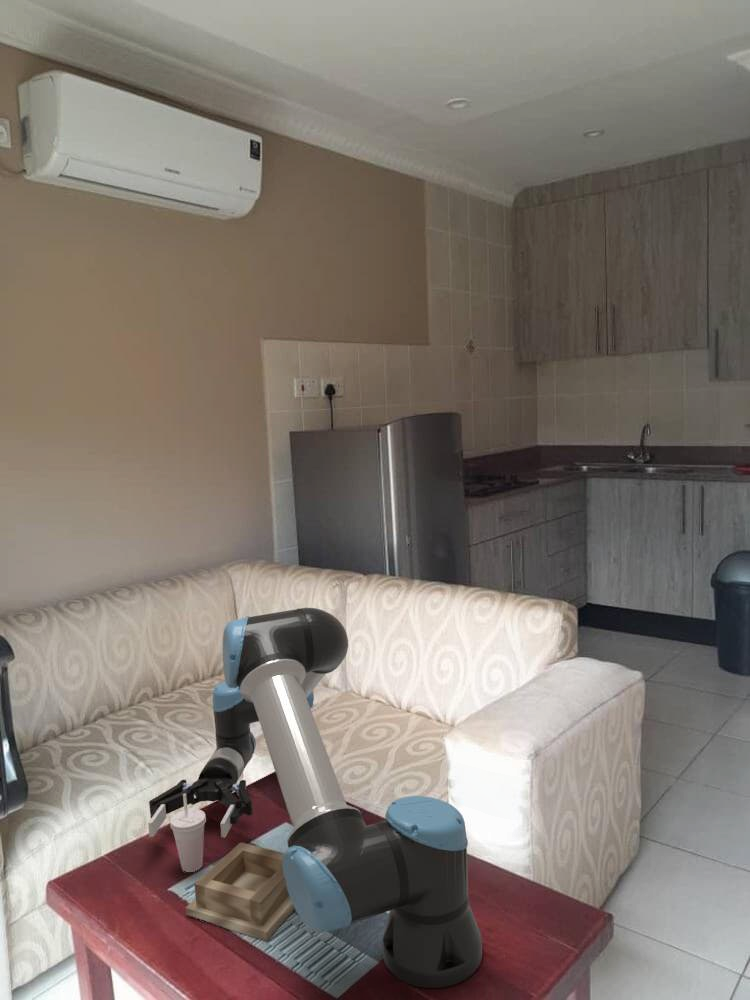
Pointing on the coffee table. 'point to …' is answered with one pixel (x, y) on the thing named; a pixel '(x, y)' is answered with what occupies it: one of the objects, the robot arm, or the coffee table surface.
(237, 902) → the wooden box
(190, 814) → the smoothie
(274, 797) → the coffee table surface
